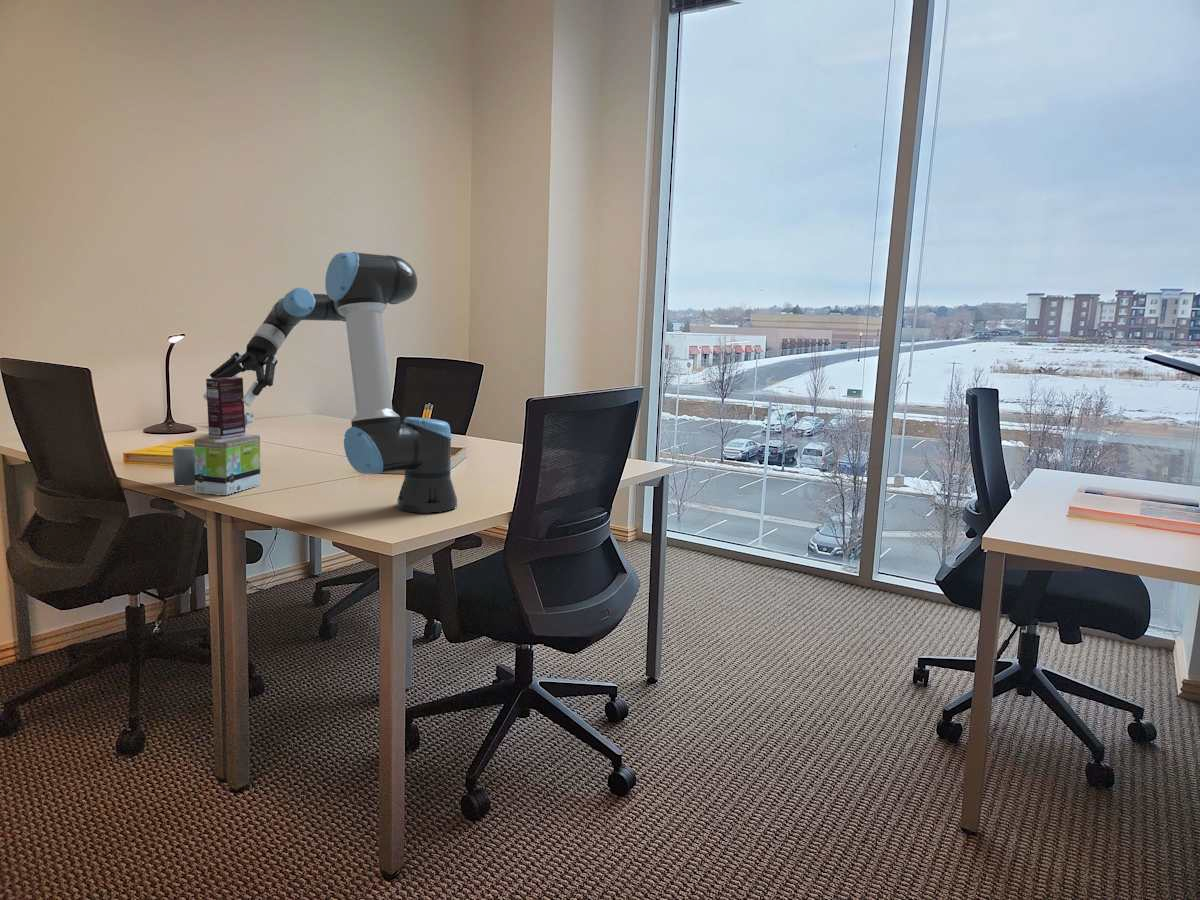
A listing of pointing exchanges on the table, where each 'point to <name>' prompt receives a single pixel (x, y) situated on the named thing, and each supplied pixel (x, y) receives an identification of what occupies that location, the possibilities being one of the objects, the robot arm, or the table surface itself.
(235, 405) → the supplement box
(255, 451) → the tea box
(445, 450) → the robot arm
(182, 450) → the upright grey block
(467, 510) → the table surface
